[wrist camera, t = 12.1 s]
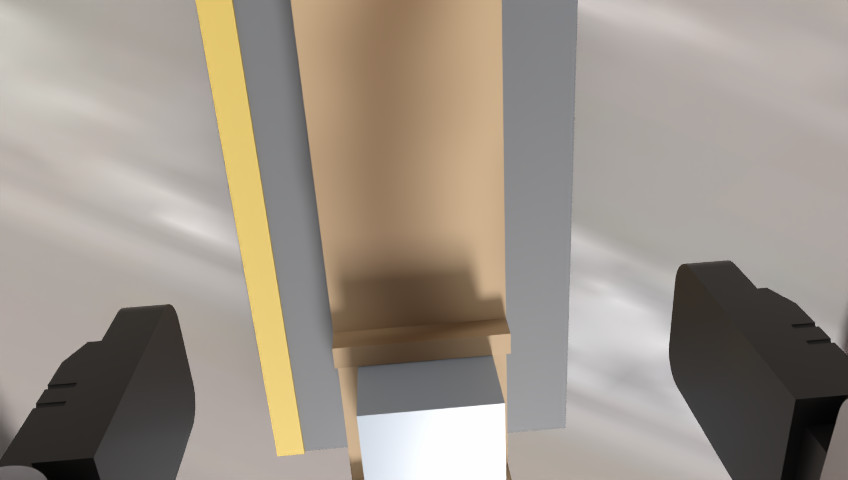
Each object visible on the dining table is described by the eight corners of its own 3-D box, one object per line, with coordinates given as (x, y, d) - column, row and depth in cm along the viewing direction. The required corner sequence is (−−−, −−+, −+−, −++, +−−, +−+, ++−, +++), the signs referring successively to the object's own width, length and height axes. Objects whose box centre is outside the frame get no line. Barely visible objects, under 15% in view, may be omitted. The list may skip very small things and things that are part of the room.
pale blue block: (488, 339, 27) (504, 403, 24) (491, 442, 29) (506, 513, 26) (358, 350, 27) (356, 416, 24) (369, 453, 29) (370, 526, 26)
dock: (567, -503, 23) (595, -555, 20) (551, 387, 38) (566, 430, 35) (133, -482, 23) (99, -533, 20) (284, 411, 37) (277, 456, 34)
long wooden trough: (469, -475, 21) (501, -584, 16) (491, 406, 34) (512, 499, 29) (250, -464, 21) (211, -571, 16) (355, 418, 34) (353, 513, 29)
